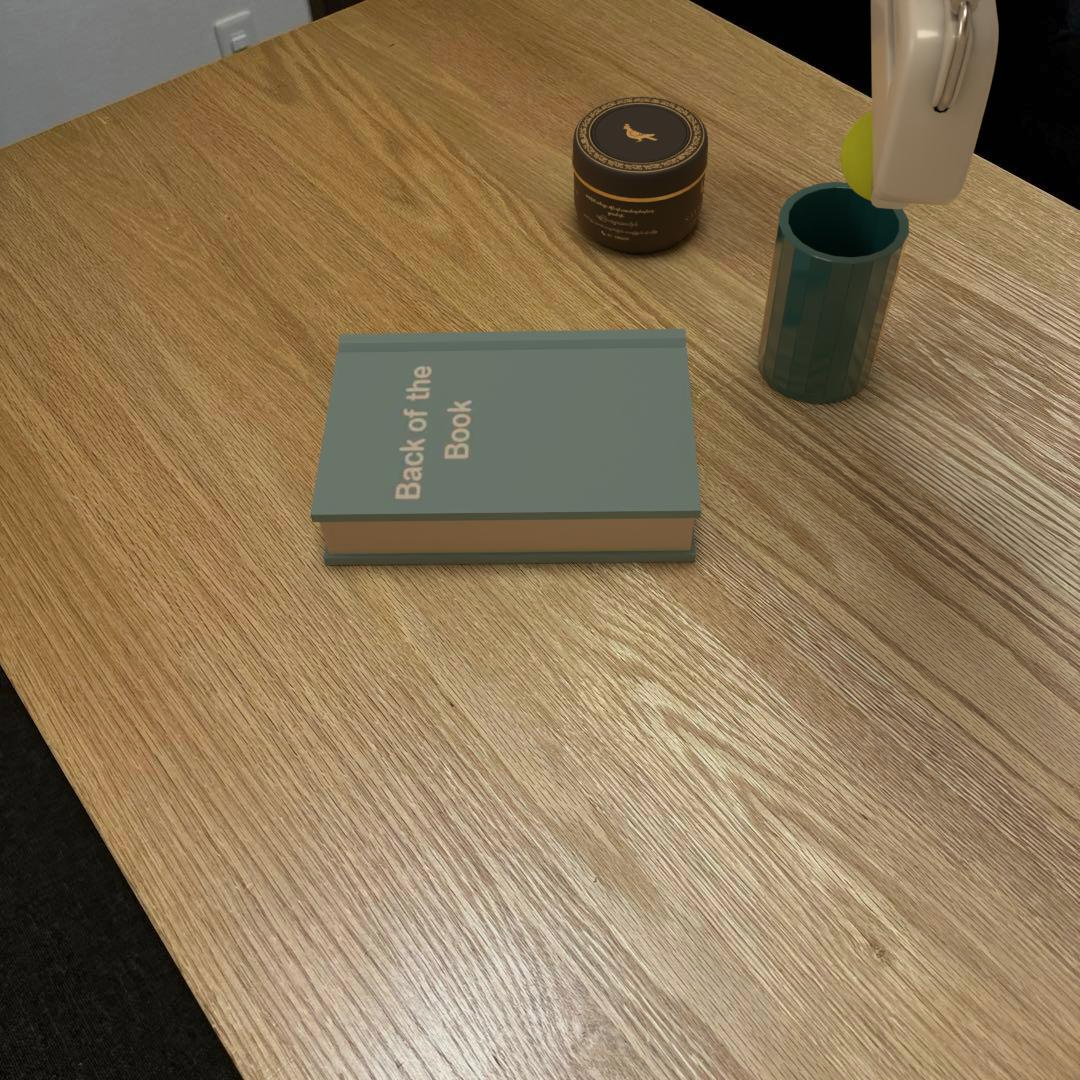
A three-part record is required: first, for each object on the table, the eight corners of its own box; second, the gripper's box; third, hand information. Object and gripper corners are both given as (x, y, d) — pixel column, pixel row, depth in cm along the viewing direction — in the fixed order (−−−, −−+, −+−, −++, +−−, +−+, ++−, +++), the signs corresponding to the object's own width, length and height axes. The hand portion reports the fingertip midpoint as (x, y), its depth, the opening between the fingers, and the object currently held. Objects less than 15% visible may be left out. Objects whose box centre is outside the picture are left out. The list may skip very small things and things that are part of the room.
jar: (688, 269, 89) (695, 183, 82) (558, 250, 90) (556, 164, 84) (712, 188, 94) (720, 102, 88) (589, 171, 96) (589, 85, 90)
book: (325, 565, 73) (310, 514, 69) (353, 377, 83) (341, 324, 79) (695, 561, 72) (701, 510, 68) (679, 372, 82) (684, 318, 78)
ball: (922, 169, 63) (944, 90, 59) (925, 225, 60) (948, 146, 56) (833, 162, 63) (849, 84, 60) (832, 217, 60) (849, 138, 57)
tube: (872, 329, 84) (908, 186, 75) (871, 409, 80) (910, 268, 70) (760, 319, 85) (782, 177, 76) (753, 397, 81) (775, 257, 71)
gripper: (1061, 18, 43) (961, 309, 54) (1017, -221, 55) (942, 57, 66) (882, 7, 43) (819, 296, 54) (877, -226, 55) (826, 50, 67)
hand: (887, 164), depth 60 cm, fingers closed on ball, 4 cm apart
